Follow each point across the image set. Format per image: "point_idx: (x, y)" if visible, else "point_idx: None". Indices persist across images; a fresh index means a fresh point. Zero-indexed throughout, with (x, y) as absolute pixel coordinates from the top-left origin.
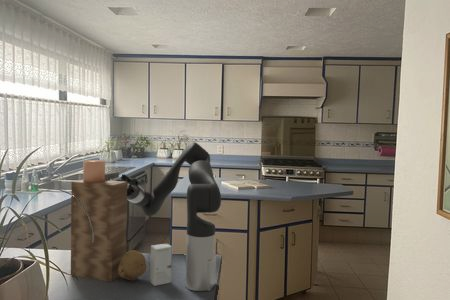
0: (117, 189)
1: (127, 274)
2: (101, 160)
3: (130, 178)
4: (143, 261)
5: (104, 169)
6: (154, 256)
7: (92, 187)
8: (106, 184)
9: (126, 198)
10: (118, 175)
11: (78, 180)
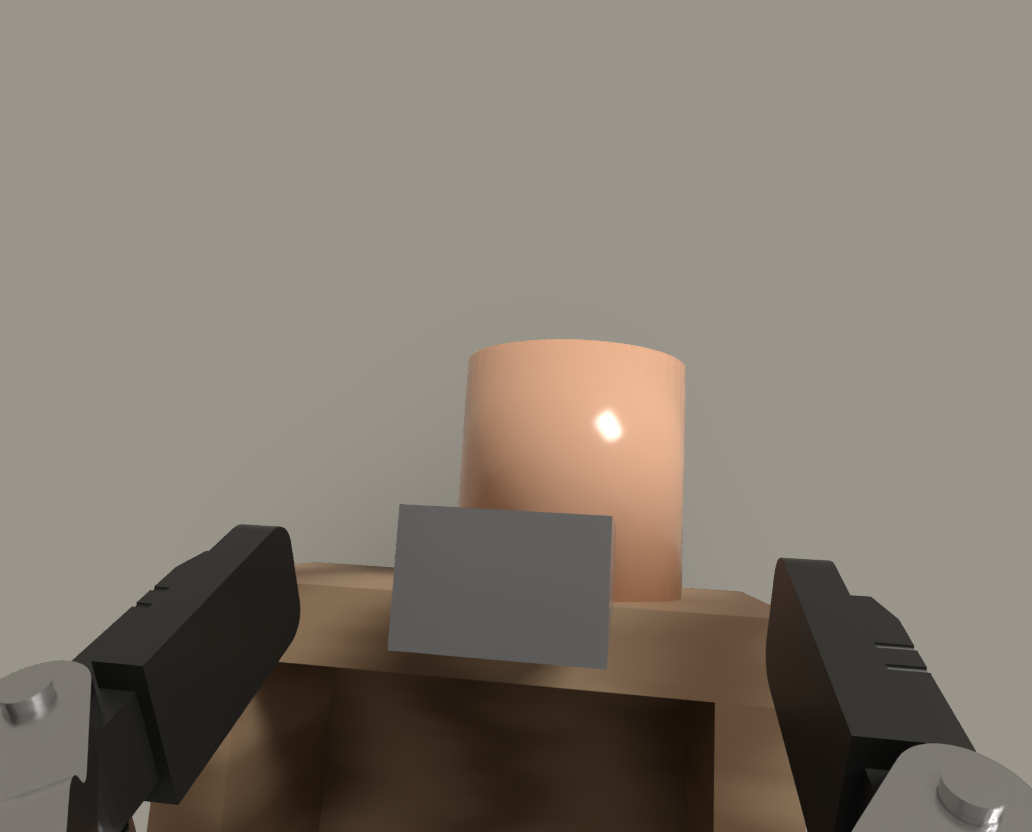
0: None
1: None
2: (548, 343)
3: (23, 686)
4: None
5: (462, 446)
6: None
7: None
8: (373, 566)
9: (156, 803)
10: (398, 589)
11: (753, 599)
